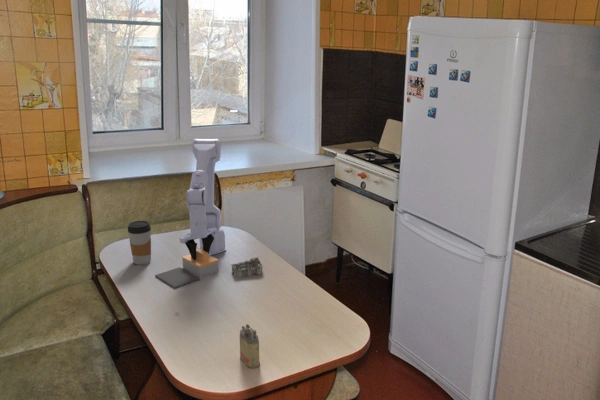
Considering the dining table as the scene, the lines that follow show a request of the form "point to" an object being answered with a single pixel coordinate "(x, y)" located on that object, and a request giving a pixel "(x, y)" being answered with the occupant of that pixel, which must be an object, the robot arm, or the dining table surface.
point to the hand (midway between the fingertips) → (200, 256)
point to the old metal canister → (249, 347)
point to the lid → (200, 259)
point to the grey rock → (247, 267)
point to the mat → (177, 277)
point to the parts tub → (201, 269)
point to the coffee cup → (140, 241)
